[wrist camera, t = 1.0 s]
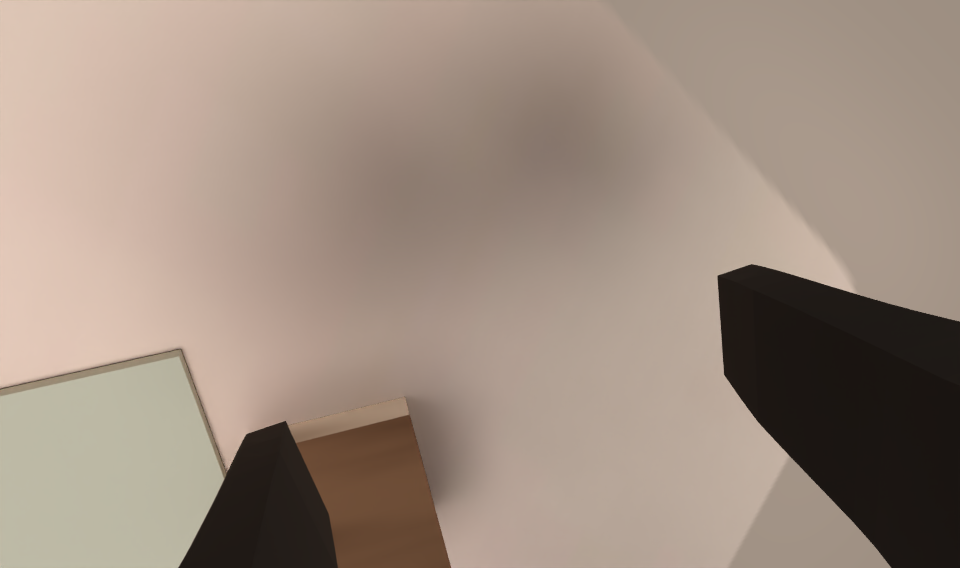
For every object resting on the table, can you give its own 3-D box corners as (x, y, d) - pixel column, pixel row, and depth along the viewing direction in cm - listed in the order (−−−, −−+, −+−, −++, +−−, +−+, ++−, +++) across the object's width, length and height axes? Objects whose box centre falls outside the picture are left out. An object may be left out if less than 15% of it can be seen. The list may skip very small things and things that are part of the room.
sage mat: (282, 626, 27) (282, 636, 26) (-13, 711, 25) (-17, 723, 25) (180, 349, 21) (178, 356, 21) (-206, 435, 19) (-216, 444, 19)
